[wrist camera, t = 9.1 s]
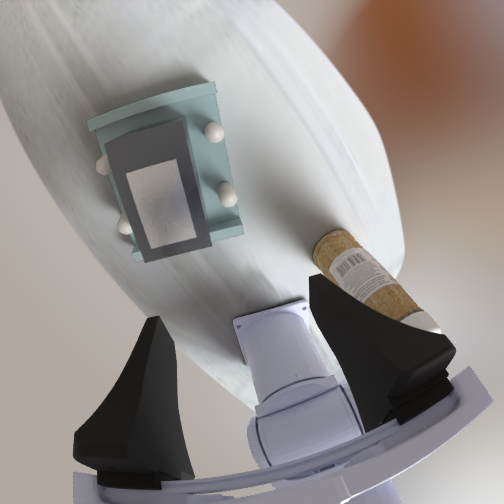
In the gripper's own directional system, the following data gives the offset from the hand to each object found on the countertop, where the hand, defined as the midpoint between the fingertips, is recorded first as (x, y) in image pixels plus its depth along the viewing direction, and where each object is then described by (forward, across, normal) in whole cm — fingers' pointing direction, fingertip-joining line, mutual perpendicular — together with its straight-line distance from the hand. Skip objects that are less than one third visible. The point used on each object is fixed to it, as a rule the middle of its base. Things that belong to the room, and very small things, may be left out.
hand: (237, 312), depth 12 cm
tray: (+10, +2, -5) cm, 12 cm away
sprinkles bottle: (+10, -10, +6) cm, 16 cm away
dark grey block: (+10, +2, -5) cm, 11 cm away
